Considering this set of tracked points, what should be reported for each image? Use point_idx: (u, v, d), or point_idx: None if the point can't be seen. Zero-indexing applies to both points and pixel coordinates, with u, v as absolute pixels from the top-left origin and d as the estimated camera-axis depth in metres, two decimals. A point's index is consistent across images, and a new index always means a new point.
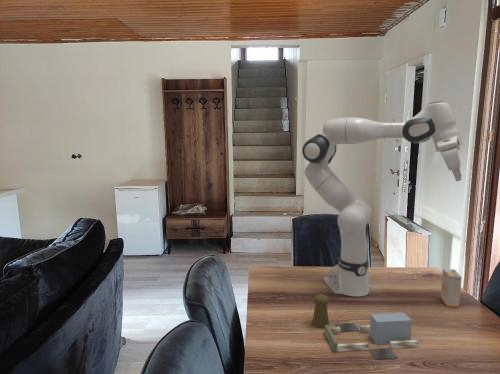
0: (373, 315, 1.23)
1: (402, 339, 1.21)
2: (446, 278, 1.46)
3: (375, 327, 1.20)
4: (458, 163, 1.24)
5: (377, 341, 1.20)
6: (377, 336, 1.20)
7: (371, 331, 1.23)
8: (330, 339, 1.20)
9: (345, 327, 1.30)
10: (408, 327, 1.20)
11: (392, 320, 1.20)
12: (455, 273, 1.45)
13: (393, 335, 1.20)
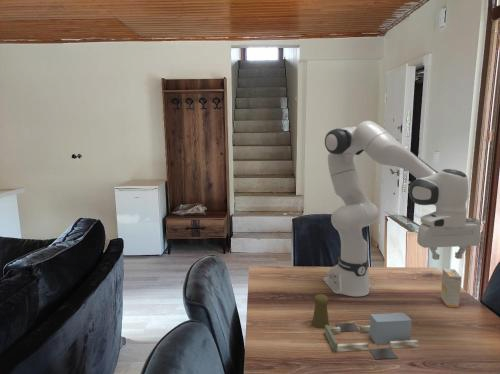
0: (373, 315, 1.23)
1: (402, 339, 1.21)
2: (446, 278, 1.46)
3: (375, 327, 1.20)
4: (422, 242, 1.18)
5: (377, 341, 1.20)
6: (377, 335, 1.20)
7: (371, 331, 1.23)
8: (330, 339, 1.20)
9: (345, 327, 1.30)
10: (408, 327, 1.20)
11: (392, 320, 1.20)
12: (455, 273, 1.45)
13: (393, 335, 1.20)
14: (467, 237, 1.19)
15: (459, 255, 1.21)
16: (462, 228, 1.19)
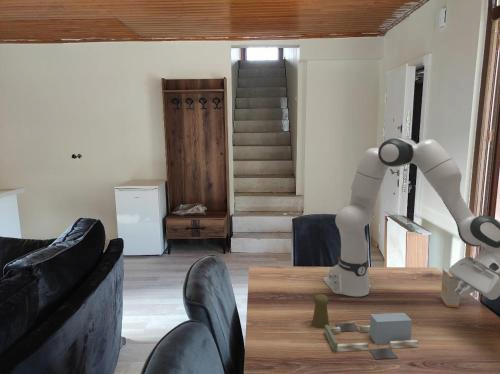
0: (373, 315, 1.23)
1: (402, 339, 1.21)
2: (446, 278, 1.46)
3: (375, 327, 1.20)
4: (497, 297, 1.12)
5: (377, 341, 1.20)
6: (377, 335, 1.20)
7: (371, 331, 1.23)
8: (330, 339, 1.20)
9: (345, 327, 1.30)
10: (408, 327, 1.20)
11: (392, 320, 1.20)
12: None
13: (393, 335, 1.20)
14: None
15: None
16: None
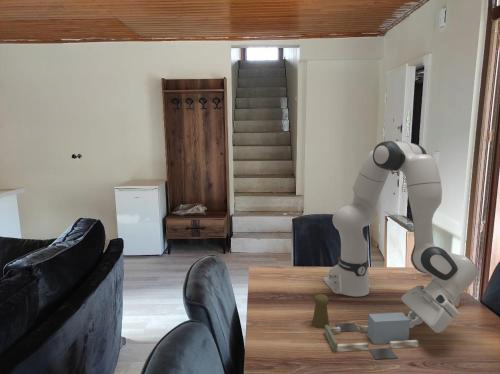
0: (371, 315, 1.23)
1: (400, 339, 1.20)
2: None
3: (373, 326, 1.20)
4: (441, 330, 1.13)
5: (375, 341, 1.20)
6: (375, 335, 1.19)
7: (369, 331, 1.23)
8: (330, 339, 1.20)
9: (345, 327, 1.30)
10: (406, 327, 1.20)
11: (390, 320, 1.20)
12: None
13: (391, 335, 1.20)
14: None
15: None
16: None
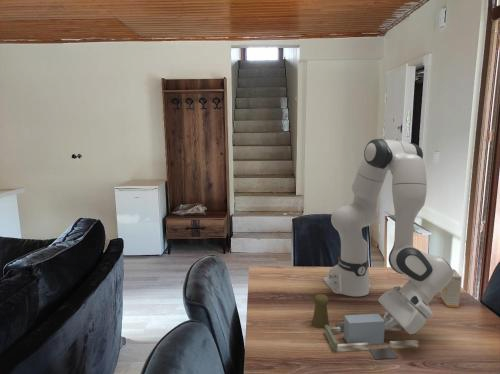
0: (346, 316, 1.22)
1: (375, 340, 1.20)
2: None
3: (348, 328, 1.19)
4: (415, 331, 1.12)
5: (350, 342, 1.19)
6: (350, 337, 1.19)
7: (345, 332, 1.22)
8: (330, 339, 1.20)
9: None
10: (381, 328, 1.19)
11: (365, 321, 1.19)
12: (455, 273, 1.45)
13: (366, 336, 1.19)
14: None
15: None
16: None
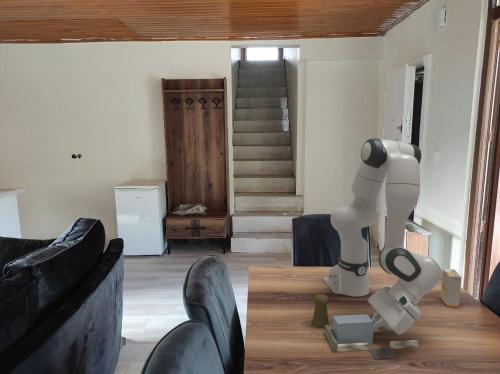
0: (335, 317, 1.22)
1: (364, 341, 1.19)
2: (446, 278, 1.46)
3: (337, 329, 1.19)
4: (403, 332, 1.12)
5: (338, 343, 1.19)
6: (338, 337, 1.18)
7: (333, 333, 1.22)
8: (330, 339, 1.20)
9: None
10: (370, 329, 1.19)
11: (353, 322, 1.19)
12: (455, 273, 1.45)
13: (354, 337, 1.19)
14: None
15: None
16: None
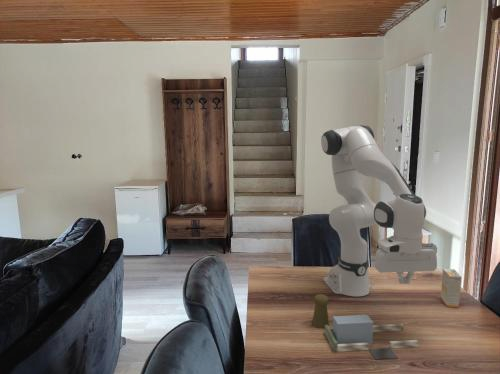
0: (335, 317, 1.22)
1: (364, 341, 1.19)
2: (446, 278, 1.46)
3: (336, 329, 1.19)
4: (378, 267, 1.18)
5: (338, 343, 1.19)
6: (338, 338, 1.18)
7: (333, 333, 1.22)
8: (330, 339, 1.20)
9: None
10: (370, 329, 1.19)
11: (353, 322, 1.19)
12: (455, 273, 1.45)
13: (354, 338, 1.19)
14: (424, 262, 1.19)
15: (406, 280, 1.20)
16: (418, 253, 1.18)
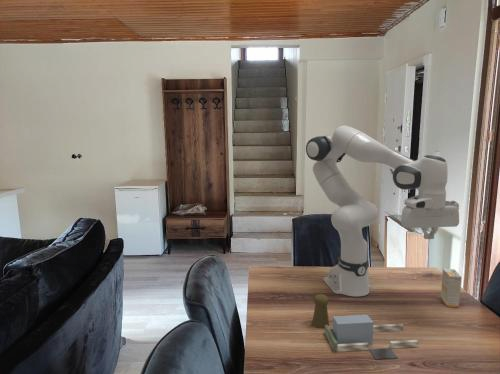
0: (335, 317, 1.22)
1: (364, 341, 1.19)
2: (446, 278, 1.46)
3: (336, 329, 1.19)
4: (405, 223, 1.28)
5: (338, 343, 1.19)
6: (338, 338, 1.18)
7: (333, 333, 1.22)
8: (330, 339, 1.20)
9: None
10: (370, 329, 1.19)
11: (353, 322, 1.19)
12: (455, 273, 1.45)
13: (354, 338, 1.19)
14: (447, 218, 1.28)
15: (431, 235, 1.30)
16: (442, 210, 1.28)
